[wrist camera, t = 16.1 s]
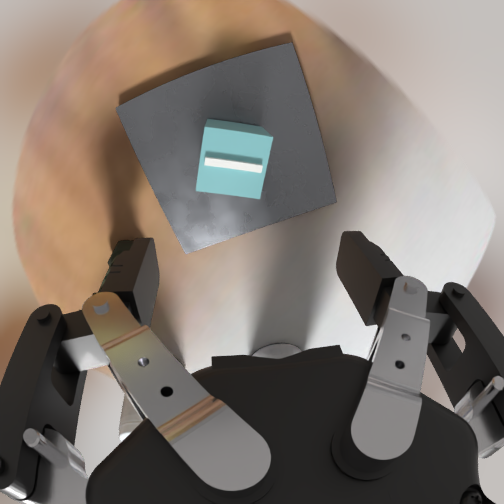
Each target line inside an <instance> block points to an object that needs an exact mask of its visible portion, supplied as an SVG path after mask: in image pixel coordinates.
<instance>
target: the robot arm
mask: <svg viewBox="0 0 504 504" xmlns="http://www.w3.org/2000/svg"><path fill="white" fill-rule="evenodd" d="M336 269H337V274H338V276H339V278H340V280H341V282H342V283H343V285H344V287H345V289H346V291H347V292H348V294H349V296H350V298H351V299H352V301H353V303H354V305H355V307H356V309H357V310H358V312H359V314H360V316H361V318H362V320H363V322H364V323H365V325H366V326H370V325H376V324H377V326H378V328H377V331H376V333H375V336H374V339H373V342H372V345H371V348H370V351H369V354H368V356H367V359H364V358H361V357H358V356H354V355H349V354H343V353H342V350H341V348H340V345H335V346H328V347H320V348H312V349H308V350H305V351H301V350H300V349H299V348H298V347H296V346H294V345H291V344H273V345H269V346H266V347H263V348H261V349H260V350H258V351H256V352H255V353H254V354H253V355H252V356H249V355H234V356H213V357H212V366H210V367H206V368H204V369H201V370H198V371H196V372H194V373H192V374H190V373H189V372H188V371H187V370H186V369H185V368H184V367H183V366H182V365H181V364H180V362H179V361H178V360H177V359H176V358H175V357H174V356H173V355H172V354H171V352H170V351H169V350H168V349H167V348H166V347H165V346H164V344H163V343H162V342H161V341H160V340H159V339H158V337H157V336H156V335H155V334H154V333H153V331H152V330H151V329H150V325H151V320H152V315H153V310H154V305H155V300H156V296H157V291H158V286H159V267H158V261H157V256H156V249H155V243H154V239H153V238H136V239H135V240H134V242H133V244H132V246H131V248H130V250H128V251H123V252H122V253H121V254H120V255H118V256H117V257H116V259H115V261H114V263H113V265H112V267H111V269H110V271H109V273H108V276H107V278H106V280H105V282H104V284H103V287H102V289H101V291H100V293H97V294H94V295H92V296H91V297H89V298H88V299H87V300H86V301H85V302H84V304H83V306H82V310H80V311H76V312H72V313H68V314H62V312H61V309H60V308H59V307H58V306H57V305H54V304H47V305H44V306H41V307H39V308H37V309H36V310H35V311H34V312H33V313H32V314H31V315H30V317H29V319H28V321H27V323H26V325H25V327H24V329H23V331H22V334H21V336H20V338H19V340H18V342H17V345H16V347H15V349H14V352H13V354H12V357H11V359H10V361H9V364H8V366H7V369H6V372H5V374H4V377H3V380H2V382H1V385H0V492H2V493H4V494H6V495H7V496H8V497H10V498H11V499H13V500H15V501H17V502H19V503H21V504H495V503H494V502H492V501H491V500H490V499H488V498H487V497H486V496H485V495H484V493H483V491H482V489H481V487H480V483H479V475H478V457H480V458H487V457H489V456H491V455H492V454H494V453H495V452H496V451H497V450H499V449H500V448H501V447H503V446H504V336H503V335H502V333H501V332H500V331H499V329H498V328H497V327H496V325H495V324H494V322H493V321H492V320H491V318H490V317H489V316H488V314H487V313H486V312H485V311H484V309H483V308H482V307H481V306H480V304H479V303H478V302H477V300H476V299H475V298H474V297H473V296H472V294H471V293H470V292H469V291H468V290H467V289H466V288H465V287H464V286H462V285H460V284H458V283H454V282H449V283H446V284H445V285H444V287H443V289H442V292H441V293H440V292H432V291H427V287H426V286H425V285H424V284H423V283H422V282H421V281H420V280H418V279H416V278H414V277H410V276H403V274H402V273H401V272H400V271H399V269H398V268H397V267H396V266H395V265H394V263H393V262H392V261H390V259H389V257H388V256H387V255H386V254H385V253H384V252H383V250H382V249H381V248H380V247H379V246H377V245H375V244H374V243H372V242H369V240H368V239H367V238H366V237H365V236H364V235H363V233H362V232H361V231H344V232H343V233H342V236H341V241H340V247H339V252H338V257H337V262H336ZM457 328H458V329H459V331H460V332H461V334H462V335H463V337H464V339H465V342H466V345H465V349H464V351H463V353H462V352H461V350H460V349H459V347H458V345H457V344H456V342H455V341H454V339H453V337H452V336H453V335H454V333H455V331H456V329H457ZM426 354H427V355H428V357H429V359H430V361H431V362H432V365H433V366H434V368H435V370H436V372H437V374H438V376H439V378H440V380H441V382H442V384H443V386H444V388H445V390H446V392H447V394H448V397H449V399H450V401H451V403H452V405H453V407H454V412H452V411H451V410H449V409H447V408H445V407H444V406H442V405H441V404H439V403H437V402H436V401H434V400H432V399H431V398H429V397H427V396H426V395H424V394H422V393H421V392H420V390H421V385H422V379H423V373H424V367H425V361H426ZM106 365H107V366H108V368H109V369H110V371H111V373H112V374H113V376H114V378H115V379H116V381H117V382H118V384H119V386H120V387H121V389H122V390H123V392H124V393H125V395H126V396H127V398H128V400H129V401H130V403H131V404H132V406H133V407H134V409H135V410H136V412H137V413H138V415H139V416H140V418H141V419H142V422H141V423H140V424H139V425H138V426H137V427H136V428H135V429H134V430H133V431H132V432H131V433H130V434H129V435H128V436H127V437H126V438H125V439H124V440H123V441H122V442H121V443H120V444H119V445H118V446H117V447H116V448H115V449H114V450H113V451H112V452H111V453H110V454H109V455H108V456H107V457H106V458H105V459H104V460H103V461H102V462H101V463H100V464H99V465H98V466H97V467H96V468H95V469H94V471H93V472H92V473H91V475H90V477H89V478H88V476H87V474H86V471H85V462H84V458H83V456H82V454H81V453H80V452H79V450H78V449H76V448H75V447H74V443H75V436H76V429H77V423H78V416H79V411H80V405H81V399H82V394H83V389H84V384H85V380H86V375H87V370H88V369H92V368H97V367H101V366H106Z"/></svg>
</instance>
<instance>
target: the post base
mask: <svg viewBox="0 0 504 504" xmlns="http://www.w3.org/2000/svg"><path fill="white" fill-rule="evenodd" d="M116 111H117V113H118V115H119V118H120V120H121V122H122V124H123V127H124V129H125V131H126V133H127V136H128V138H129V140H130V142H131V145H132V147H133V149H134V151H135V153H136V156H137V158H138V160H139V162H140V164H141V166H142V168H143V170H144V173H145V175H146V177H147V179H148V181H149V183H150V185H151V187H152V189H153V191H154V193H155V195H156V197H157V199H158V201H159V203H160V205H161V207H162V209H163V211H164V213H165V215H166V217H167V219H168V221H169V223H170V225H171V227H172V229H173V231H174V233H175V235H176V237H177V239H178V241H179V243H180V244H181V246H182V248H183V250H184V252H185V254H188V253H191V252H194V251H197V250H199V249H202V248H205V247H208V246H211V245H213V244H216V243H219V242H222V241H225V240H228V239H230V238H233V237H236V236H239V235H242V234H245V233H248V232H250V231H253V230H256V229H259V228H262V227H265V226H268V225H271V224H274V223H277V222H279V221H282V220H285V219H288V218H291V217H294V216H297V215H300V214H303V213H306V212H309V211H312V210H315V209H318V208H321V207H324V206H327V205H330V204H333V203H336V197H335V192H334V188H333V183H332V179H331V174H330V170H329V166H328V162H327V157H326V153H325V149H324V145H323V142H322V138H321V134H320V130H319V127H318V123H317V119H316V116H315V112H314V109H313V105H312V102H311V99H310V95H309V92H308V89H307V85H306V82H305V79H304V76H303V73H302V70H301V67H300V64H299V61H298V58H297V55H296V52H295V49H294V46H293V44H292V42H291V43H287V44H282V45H278V46H274V47H270V48H266V49H263V50H259V51H255V52H252V53H248V54H245V55H241V56H238V57H235V58H232V59H229V60H226V61H223V62H220V63H217V64H214V65H211V66H208V67H205V68H203V69H200V70H197V71H195V72H192V73H190V74H187V75H185V76H182V77H180V78H177V79H175V80H172V81H170V82H168V83H166V84H163V85H161V86H159V87H157V88H154V89H152V90H150V91H148V92H146V93H144V94H142V95H140V96H138V97H136V98H134V99H132V100H130V101H128V102H126V103H124V104H122V105H120V106H118V107H116ZM207 119H214V120H222V121H229V122H236V123H242V124H248V125H254V126H260V127H263V128H264V129H265V130H266V131H267V132H268V133H269V134H270V135H271V136H272V137H273V141H272V145H271V150H270V154H269V159H268V164H267V168H266V173H265V178H264V182H263V187H262V191H261V196H260V199H255V198H248V197H240V196H233V195H225V194H217V193H208V192H200V191H196V184H197V176H198V169H199V162H200V155H201V148H202V141H203V134H204V128H205V124H206V121H207Z"/></svg>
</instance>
